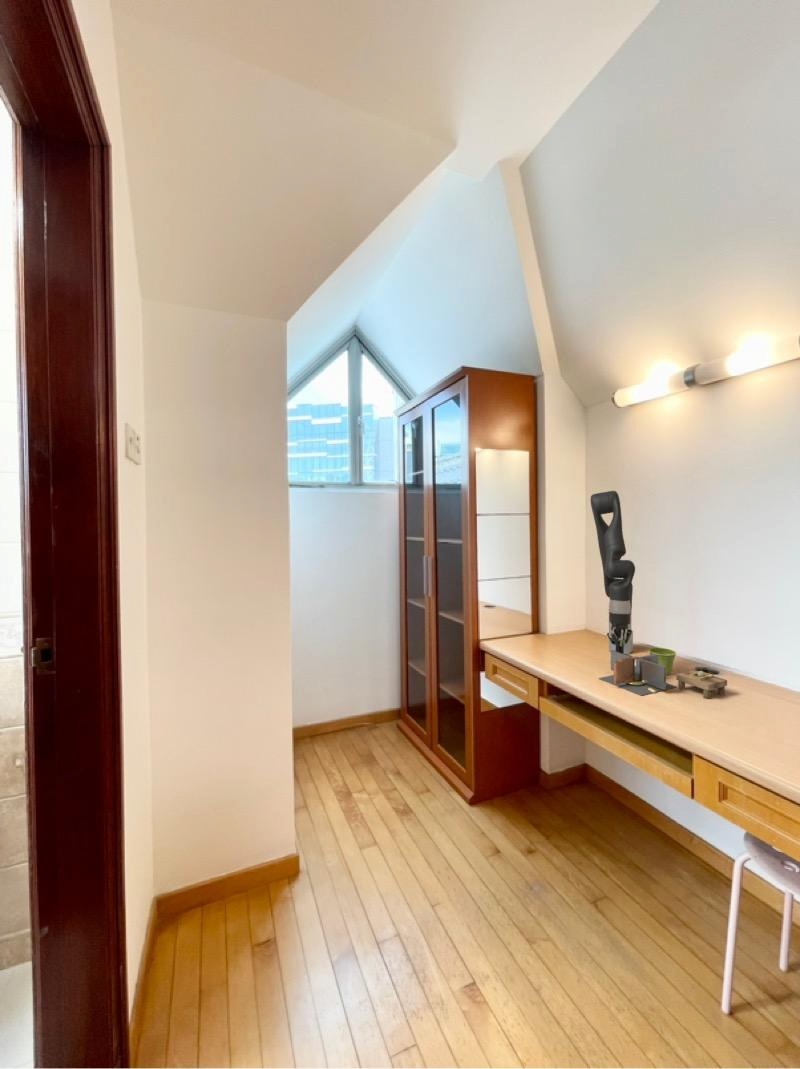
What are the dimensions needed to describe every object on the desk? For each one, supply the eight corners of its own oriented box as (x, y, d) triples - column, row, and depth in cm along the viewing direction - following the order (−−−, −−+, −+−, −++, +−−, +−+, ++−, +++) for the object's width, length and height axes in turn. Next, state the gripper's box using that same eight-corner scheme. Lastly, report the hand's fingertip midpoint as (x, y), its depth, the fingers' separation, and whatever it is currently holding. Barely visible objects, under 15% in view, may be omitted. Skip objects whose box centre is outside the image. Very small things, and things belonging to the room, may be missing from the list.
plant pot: (681, 677, 167) (681, 654, 166) (656, 677, 167) (656, 654, 167) (668, 669, 176) (668, 647, 176) (644, 668, 177) (644, 647, 176)
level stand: (694, 683, 160) (694, 664, 160) (727, 694, 150) (727, 673, 150) (676, 688, 156) (676, 668, 156) (708, 699, 146) (708, 678, 146)
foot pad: (632, 671, 174) (632, 669, 173) (678, 687, 156) (678, 685, 156) (598, 678, 166) (598, 676, 166) (642, 696, 149) (642, 694, 149)
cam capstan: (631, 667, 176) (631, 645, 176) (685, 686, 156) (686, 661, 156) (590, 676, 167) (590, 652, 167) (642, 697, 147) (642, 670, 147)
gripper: (621, 607, 177) (621, 649, 178) (600, 611, 171) (600, 655, 171) (639, 610, 171) (639, 654, 171) (618, 614, 164) (618, 660, 165)
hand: (619, 654), depth 171 cm, fingers closed
